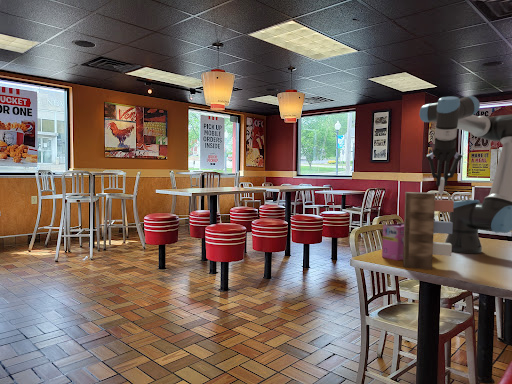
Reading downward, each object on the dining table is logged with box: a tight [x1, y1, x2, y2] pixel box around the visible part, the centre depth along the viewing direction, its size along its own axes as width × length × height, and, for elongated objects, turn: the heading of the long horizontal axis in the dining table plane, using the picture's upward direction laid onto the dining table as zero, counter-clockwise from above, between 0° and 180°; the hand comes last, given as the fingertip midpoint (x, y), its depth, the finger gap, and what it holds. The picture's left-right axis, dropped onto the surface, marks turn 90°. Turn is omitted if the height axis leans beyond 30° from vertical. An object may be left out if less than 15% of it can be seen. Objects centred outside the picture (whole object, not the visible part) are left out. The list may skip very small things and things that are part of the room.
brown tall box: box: [402, 191, 436, 271], centre depth 143 cm, size 10×10×27 cm
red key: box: [434, 199, 455, 213], centre depth 141 cm, size 9×4×4 cm, turn 71°
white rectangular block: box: [433, 241, 453, 257], centre depth 141 cm, size 9×4×4 cm, turn 71°
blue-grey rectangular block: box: [433, 220, 453, 235], centre depth 141 cm, size 9×4×4 cm, turn 71°
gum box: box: [381, 222, 404, 261], centre depth 161 cm, size 24×8×14 cm, turn 123°
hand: (440, 192), depth 158 cm, fingers closed
